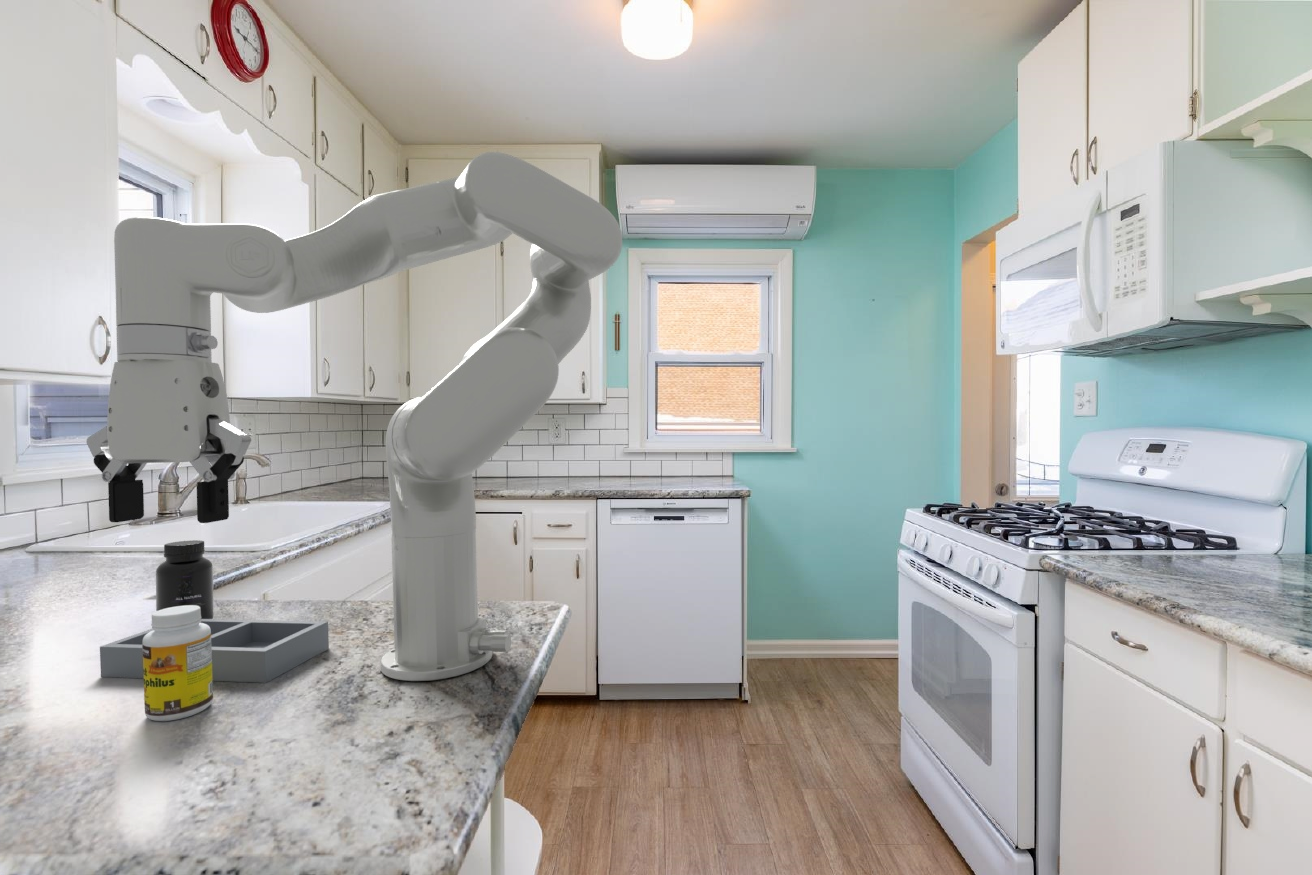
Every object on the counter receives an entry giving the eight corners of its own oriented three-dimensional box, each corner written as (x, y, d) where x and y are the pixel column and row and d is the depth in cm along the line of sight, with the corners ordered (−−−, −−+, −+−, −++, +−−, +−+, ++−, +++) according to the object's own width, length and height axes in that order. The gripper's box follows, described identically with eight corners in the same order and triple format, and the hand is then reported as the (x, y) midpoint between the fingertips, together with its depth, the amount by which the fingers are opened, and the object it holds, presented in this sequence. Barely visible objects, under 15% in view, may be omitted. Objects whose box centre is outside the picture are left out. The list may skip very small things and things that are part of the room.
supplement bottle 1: (184, 632, 92) (181, 547, 92) (144, 630, 93) (141, 546, 93) (225, 618, 99) (223, 538, 98) (187, 616, 100) (185, 538, 100)
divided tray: (328, 648, 84) (327, 621, 83) (266, 682, 73) (265, 651, 73) (182, 644, 86) (181, 618, 86) (100, 676, 76) (99, 646, 75)
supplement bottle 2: (130, 720, 64) (126, 616, 64) (186, 697, 69) (183, 601, 69) (172, 726, 62) (168, 620, 62) (226, 702, 67) (223, 604, 67)
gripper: (272, 350, 67) (275, 516, 68) (124, 355, 70) (128, 515, 70) (213, 341, 60) (217, 527, 60) (50, 346, 62) (55, 525, 63)
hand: (169, 520), depth 65 cm, fingers open, 9 cm apart
